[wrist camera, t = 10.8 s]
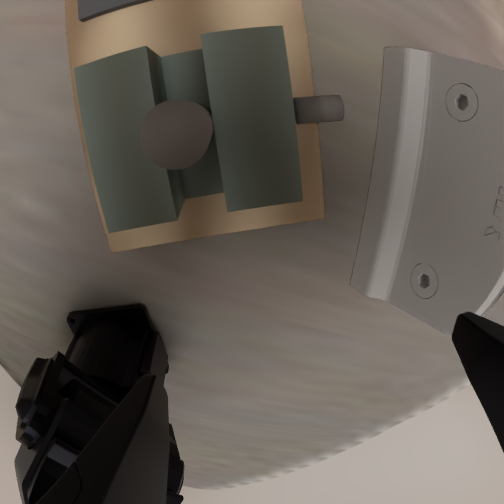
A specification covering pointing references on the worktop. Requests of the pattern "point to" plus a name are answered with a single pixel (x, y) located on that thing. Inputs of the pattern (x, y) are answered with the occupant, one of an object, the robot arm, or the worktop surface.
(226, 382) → the worktop surface
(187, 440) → the worktop surface
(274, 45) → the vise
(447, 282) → the grey arched bracket
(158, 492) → the robot arm
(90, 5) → the mat
